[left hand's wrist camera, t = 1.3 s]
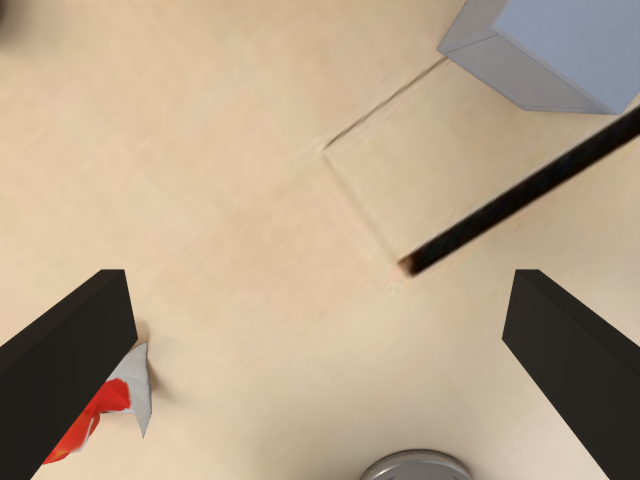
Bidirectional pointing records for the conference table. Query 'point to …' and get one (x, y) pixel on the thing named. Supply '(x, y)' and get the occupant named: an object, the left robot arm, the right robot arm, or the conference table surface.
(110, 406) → the fish
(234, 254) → the conference table surface
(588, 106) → the chest
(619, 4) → the lid
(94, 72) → the conference table surface
